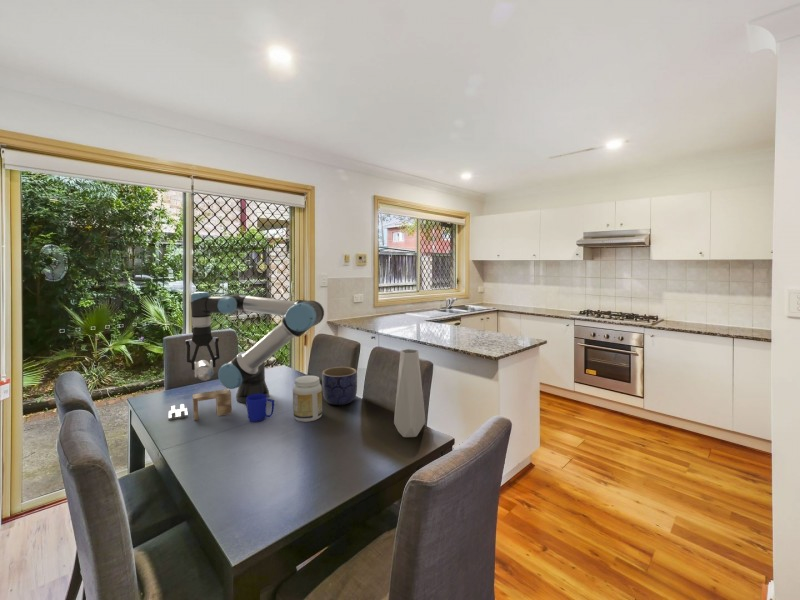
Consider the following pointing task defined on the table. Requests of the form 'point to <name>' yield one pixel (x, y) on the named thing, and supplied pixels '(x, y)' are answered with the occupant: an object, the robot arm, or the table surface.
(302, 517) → the table surface
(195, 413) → the wooden block with opening
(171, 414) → the v block
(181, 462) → the table surface
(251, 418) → the mug
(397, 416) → the vase
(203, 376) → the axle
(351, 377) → the planter
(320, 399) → the supplement tub
